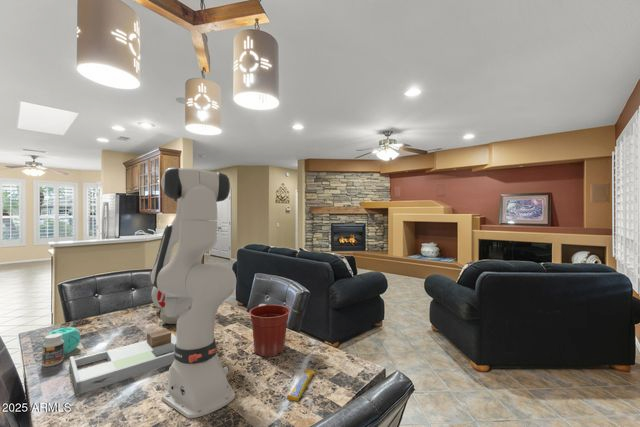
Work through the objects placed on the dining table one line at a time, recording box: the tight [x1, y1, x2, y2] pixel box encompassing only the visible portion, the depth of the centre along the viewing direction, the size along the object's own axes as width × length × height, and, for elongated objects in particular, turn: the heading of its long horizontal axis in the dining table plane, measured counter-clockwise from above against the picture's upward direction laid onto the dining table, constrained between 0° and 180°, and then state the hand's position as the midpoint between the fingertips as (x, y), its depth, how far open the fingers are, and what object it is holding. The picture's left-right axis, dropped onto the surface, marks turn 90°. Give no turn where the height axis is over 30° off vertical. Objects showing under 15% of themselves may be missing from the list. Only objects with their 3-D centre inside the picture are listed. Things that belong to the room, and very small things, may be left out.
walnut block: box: [146, 327, 172, 348], centre depth 116 cm, size 7×7×4 cm
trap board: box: [69, 333, 176, 396], centre depth 105 cm, size 22×34×4 cm, turn 135°
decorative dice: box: [42, 326, 81, 355], centre depth 113 cm, size 8×8×8 cm
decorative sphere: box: [150, 286, 167, 310], centre depth 165 cm, size 20×20×20 cm
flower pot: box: [248, 304, 291, 358], centre depth 117 cm, size 16×16×16 cm
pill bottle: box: [41, 333, 65, 367], centre depth 104 cm, size 6×6×10 cm
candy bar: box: [286, 369, 316, 402], centre depth 92 cm, size 17×4×2 cm, turn 164°
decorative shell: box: [159, 305, 192, 325], centre depth 146 cm, size 18×18×10 cm
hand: (183, 319), depth 123 cm, fingers closed
